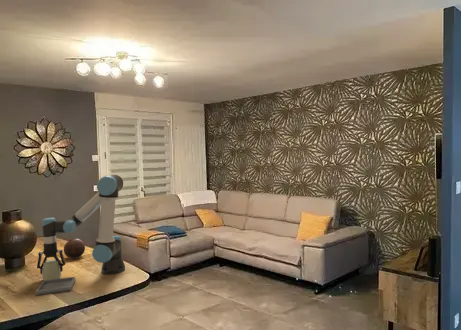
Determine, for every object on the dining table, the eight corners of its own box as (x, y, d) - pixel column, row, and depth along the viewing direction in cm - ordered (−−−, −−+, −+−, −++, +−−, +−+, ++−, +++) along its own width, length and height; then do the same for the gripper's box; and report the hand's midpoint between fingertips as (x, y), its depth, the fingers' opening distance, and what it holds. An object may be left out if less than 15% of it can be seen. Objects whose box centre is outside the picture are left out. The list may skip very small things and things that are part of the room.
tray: (75, 280, 223) (75, 276, 223) (70, 291, 205) (70, 286, 205) (43, 284, 218) (43, 280, 218) (36, 295, 200) (35, 291, 200)
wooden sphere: (89, 256, 276) (88, 237, 275) (71, 262, 263) (70, 242, 263) (77, 254, 284) (76, 235, 283) (59, 259, 271) (58, 240, 271)
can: (43, 282, 221) (42, 263, 221) (43, 278, 229) (42, 260, 229) (60, 279, 225) (59, 261, 225) (59, 275, 234) (58, 257, 233)
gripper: (69, 239, 233) (71, 273, 234) (32, 242, 227) (34, 278, 228) (67, 242, 226) (69, 277, 227) (29, 245, 220) (31, 282, 221)
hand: (52, 277), depth 227 cm, fingers closed on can, 9 cm apart
